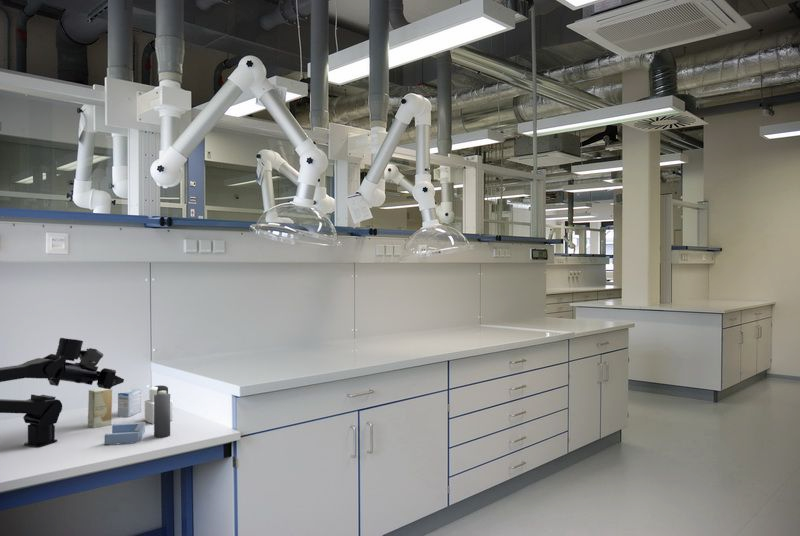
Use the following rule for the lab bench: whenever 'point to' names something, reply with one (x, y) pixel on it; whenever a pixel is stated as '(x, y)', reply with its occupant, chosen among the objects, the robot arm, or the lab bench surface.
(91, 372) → the robot arm
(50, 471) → the lab bench surface
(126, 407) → the medicine box
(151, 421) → the medicine bottle
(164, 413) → the grey cylindrical bottle
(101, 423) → the skincare box
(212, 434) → the lab bench surface
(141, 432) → the socket cradle
